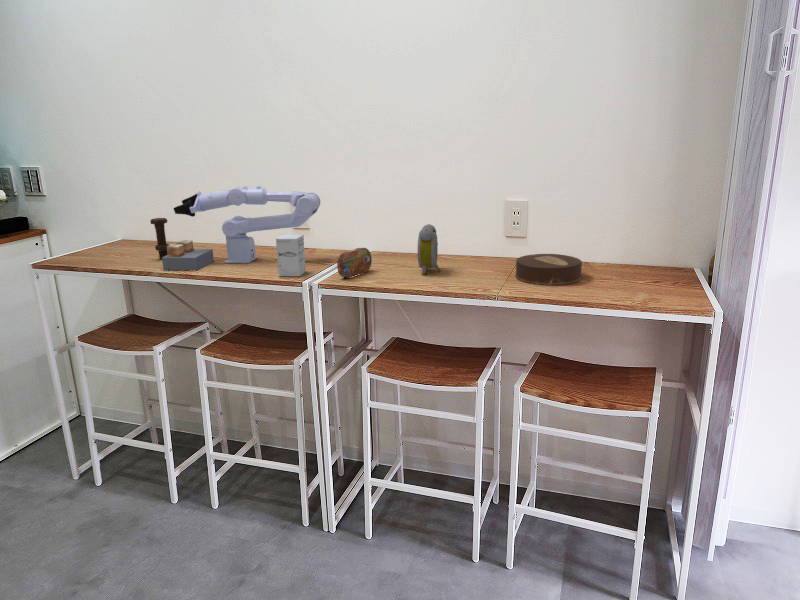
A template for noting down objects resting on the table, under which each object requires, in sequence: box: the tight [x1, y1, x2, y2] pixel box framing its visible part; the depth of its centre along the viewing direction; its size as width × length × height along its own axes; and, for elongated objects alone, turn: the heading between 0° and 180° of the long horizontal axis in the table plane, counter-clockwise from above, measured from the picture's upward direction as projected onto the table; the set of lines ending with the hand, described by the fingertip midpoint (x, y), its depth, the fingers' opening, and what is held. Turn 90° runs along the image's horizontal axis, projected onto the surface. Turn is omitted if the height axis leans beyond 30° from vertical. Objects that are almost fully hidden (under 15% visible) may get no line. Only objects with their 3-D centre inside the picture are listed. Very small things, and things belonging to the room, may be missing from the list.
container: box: [514, 253, 583, 287], centre depth 195 cm, size 20×20×6 cm
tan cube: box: [167, 243, 185, 257], centre depth 219 cm, size 4×4×4 cm
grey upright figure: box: [417, 223, 442, 276], centre depth 204 cm, size 12×7×15 cm, turn 171°
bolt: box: [149, 217, 170, 260], centre depth 234 cm, size 6×5×15 cm
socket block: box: [161, 248, 215, 271], centre depth 223 cm, size 12×14×4 cm
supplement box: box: [275, 234, 306, 277], centre depth 207 cm, size 7×7×13 cm
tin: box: [336, 247, 372, 279], centre depth 204 cm, size 15×3×8 cm, turn 145°
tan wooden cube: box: [176, 239, 195, 253], centre depth 226 cm, size 4×4×4 cm
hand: (178, 207), depth 226 cm, fingers open, 7 cm apart
